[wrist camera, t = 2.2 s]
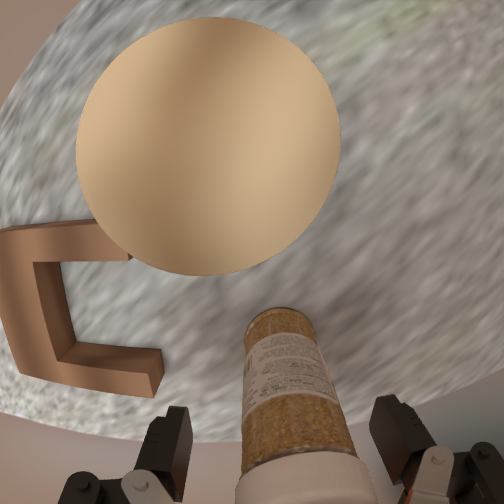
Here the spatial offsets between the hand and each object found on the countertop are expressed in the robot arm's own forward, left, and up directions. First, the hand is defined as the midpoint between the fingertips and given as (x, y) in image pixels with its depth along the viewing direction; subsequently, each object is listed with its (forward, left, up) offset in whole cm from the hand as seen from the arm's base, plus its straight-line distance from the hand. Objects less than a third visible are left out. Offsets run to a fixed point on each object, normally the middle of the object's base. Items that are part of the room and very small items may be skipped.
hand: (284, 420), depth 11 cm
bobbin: (+3, -11, -8) cm, 14 cm away
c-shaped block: (+14, -2, -8) cm, 16 cm away
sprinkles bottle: (0, 0, -8) cm, 8 cm away
